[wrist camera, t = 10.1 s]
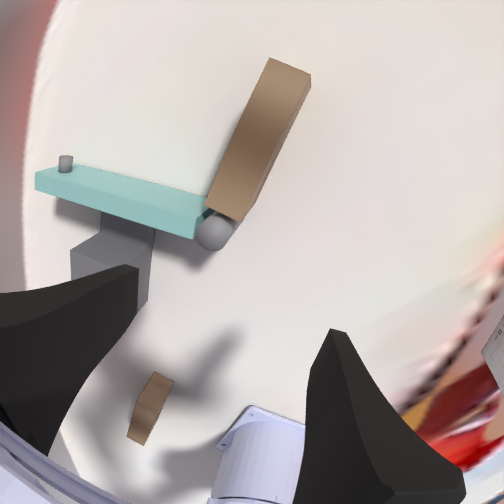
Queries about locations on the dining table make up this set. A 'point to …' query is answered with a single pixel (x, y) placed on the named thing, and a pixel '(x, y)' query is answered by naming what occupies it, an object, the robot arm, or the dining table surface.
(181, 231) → the door
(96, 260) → the door stop
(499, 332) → the small box
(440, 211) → the dining table surface
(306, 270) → the dining table surface
